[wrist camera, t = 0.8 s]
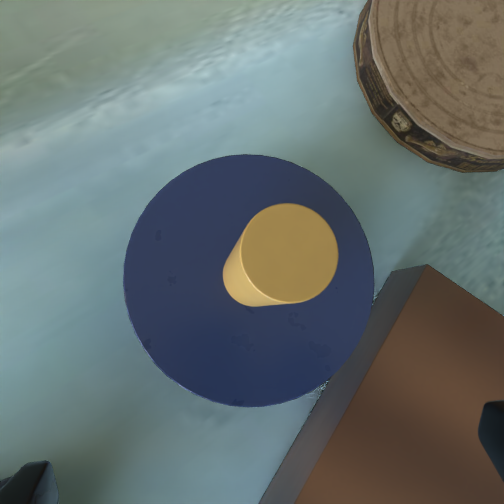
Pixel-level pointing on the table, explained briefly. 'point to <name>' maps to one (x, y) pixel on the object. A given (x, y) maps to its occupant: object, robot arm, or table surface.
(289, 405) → the table surface
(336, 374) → the block
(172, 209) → the lid
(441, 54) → the brown flat disc
